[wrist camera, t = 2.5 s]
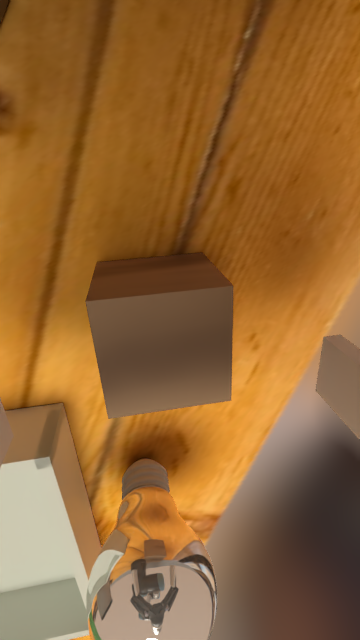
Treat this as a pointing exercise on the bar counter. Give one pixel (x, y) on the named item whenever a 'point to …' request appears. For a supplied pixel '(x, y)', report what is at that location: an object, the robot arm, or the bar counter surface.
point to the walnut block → (161, 333)
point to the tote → (44, 530)
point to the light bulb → (151, 568)
